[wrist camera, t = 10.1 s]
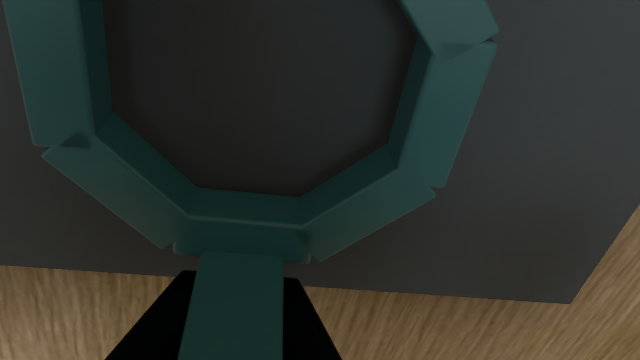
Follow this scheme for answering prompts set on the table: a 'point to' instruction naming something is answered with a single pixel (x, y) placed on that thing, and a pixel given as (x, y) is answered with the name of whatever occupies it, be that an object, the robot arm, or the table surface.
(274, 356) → the ring teal
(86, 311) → the table surface
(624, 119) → the mat
